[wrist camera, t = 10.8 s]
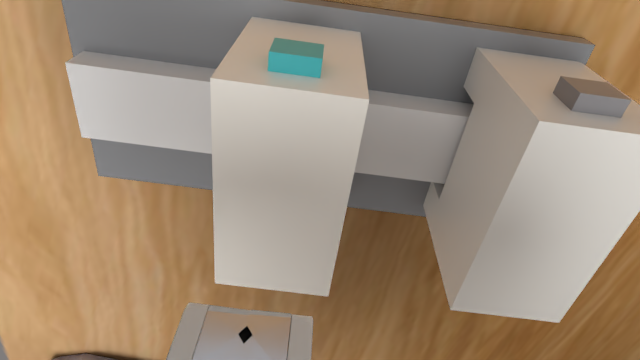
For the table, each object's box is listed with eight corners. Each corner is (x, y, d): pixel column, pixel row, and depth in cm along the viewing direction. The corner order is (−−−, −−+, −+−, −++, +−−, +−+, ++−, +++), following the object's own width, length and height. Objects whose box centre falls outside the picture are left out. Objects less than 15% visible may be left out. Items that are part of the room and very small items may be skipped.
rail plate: (583, 38, 18) (614, 57, 16) (499, 215, 24) (513, 245, 22) (68, -37, 17) (31, -27, 15) (107, 165, 23) (84, 192, 21)
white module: (362, 17, 17) (373, 79, 12) (331, 194, 22) (328, 296, 17) (252, 1, 17) (209, 57, 11) (246, 183, 22) (215, 283, 17)
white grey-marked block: (587, 47, 18) (703, 123, 12) (505, 215, 23) (558, 322, 17) (481, 32, 17) (548, 101, 12) (423, 205, 23) (450, 309, 17)
